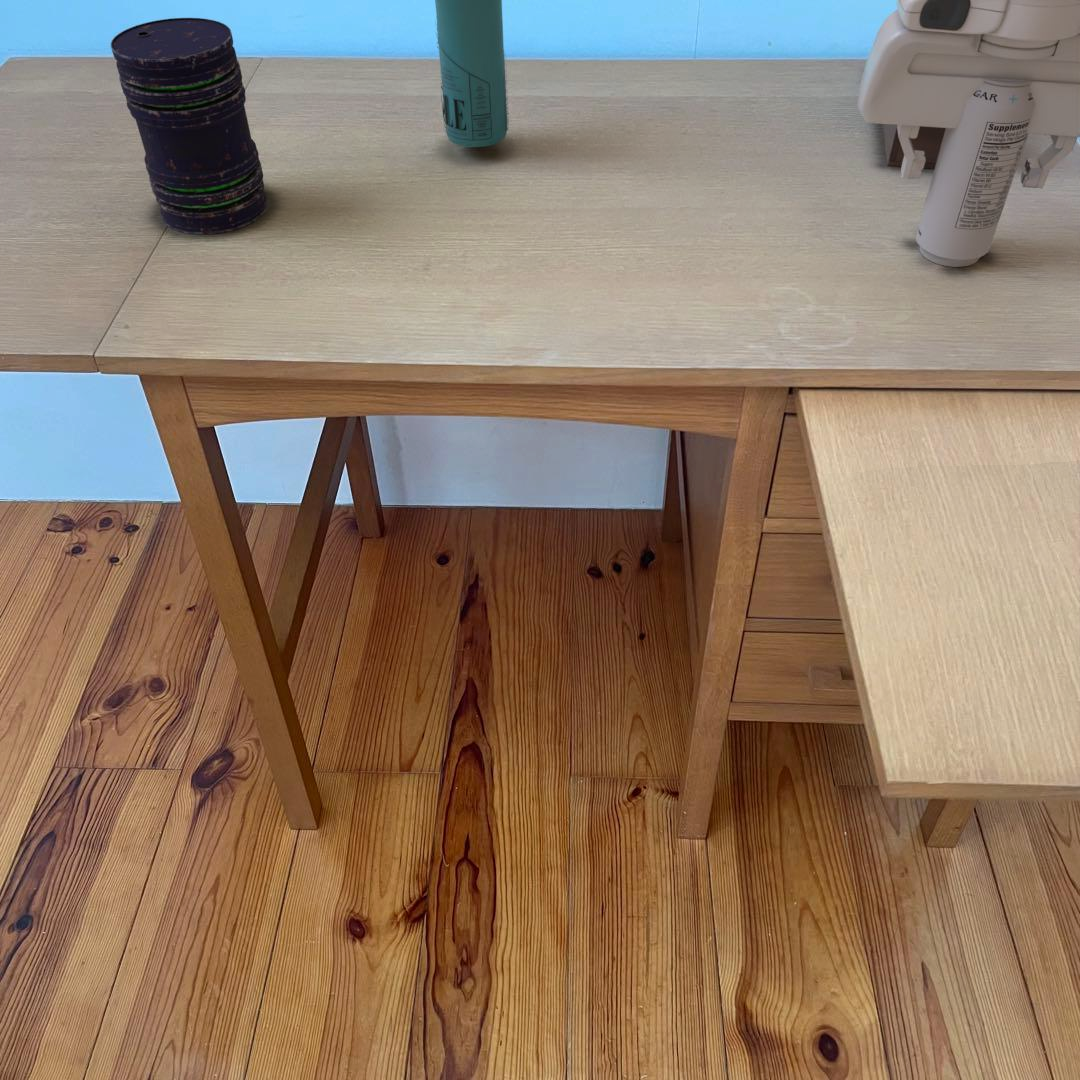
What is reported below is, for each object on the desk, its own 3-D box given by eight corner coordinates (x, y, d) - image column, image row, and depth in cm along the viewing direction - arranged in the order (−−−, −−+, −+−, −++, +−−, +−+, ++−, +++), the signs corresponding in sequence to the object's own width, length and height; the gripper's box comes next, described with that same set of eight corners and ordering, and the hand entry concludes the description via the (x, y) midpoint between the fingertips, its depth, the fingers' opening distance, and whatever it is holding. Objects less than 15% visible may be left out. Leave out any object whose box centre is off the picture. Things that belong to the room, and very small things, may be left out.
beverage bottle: (520, 141, 103) (514, -83, 88) (491, 168, 98) (480, -63, 84) (464, 130, 105) (449, -90, 90) (432, 156, 100) (412, -71, 86)
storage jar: (289, 194, 95) (256, 25, 84) (230, 243, 89) (185, 67, 78) (201, 177, 98) (158, 11, 87) (137, 223, 91) (82, 50, 81)
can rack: (953, 75, 114) (967, 23, 110) (979, 172, 97) (997, 114, 93) (875, 70, 115) (886, 19, 111) (887, 165, 98) (901, 108, 94)
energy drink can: (957, 229, 89) (1011, 51, 78) (1001, 262, 85) (1065, 79, 74) (898, 242, 87) (946, 62, 77) (940, 276, 83) (997, 91, 73)
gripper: (1171, -12, 73) (1097, 173, 82) (880, -26, 75) (842, 154, 85) (1194, 18, 68) (1113, 209, 78) (884, 2, 71) (844, 188, 81)
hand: (969, 180), depth 82 cm, fingers open, 8 cm apart
